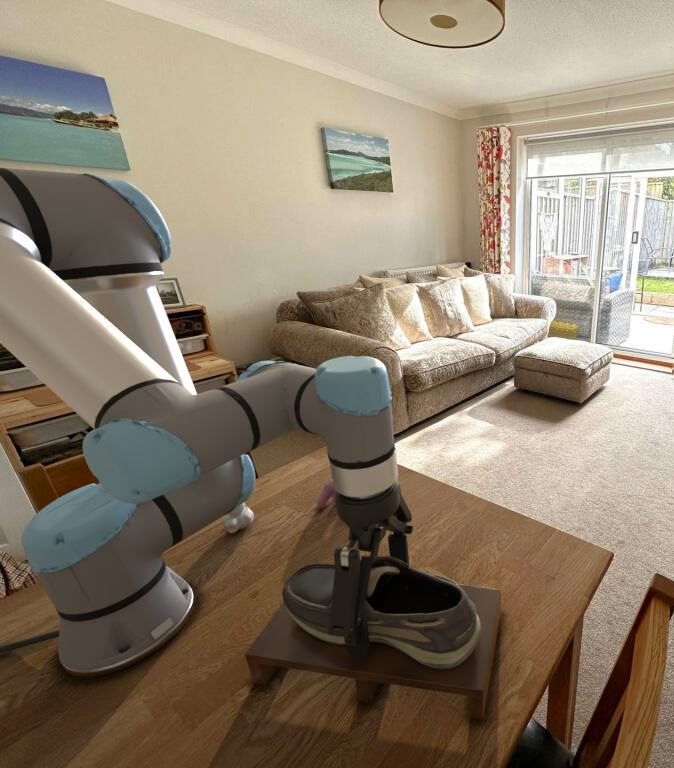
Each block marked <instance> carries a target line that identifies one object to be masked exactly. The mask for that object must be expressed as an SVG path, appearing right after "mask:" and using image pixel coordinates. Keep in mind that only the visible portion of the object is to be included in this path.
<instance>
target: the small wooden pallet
mask: <svg viewBox="0 0 674 768" xmlns="http://www.w3.org/2000/svg"><path fill="white" fill-rule="evenodd" d="M457 584H458V585H459V586H460V587H461V588H462V589H463V590H464V591H465V593H466V594H467V596H468V598H469V599H470V600H471V601H472V602H473V603H474V604H475V606H476V611H477V615H478V617H479V620H480V624H481V633H480V637H479V640H478V642H477V645H476V646H475V648H474V650H473V651H472V653H471V654H470V655H469V656H468V657H467V658H466V660H464V661H463V662H462V663H460V664H459V665H457V666H455V667H452V668H445V669H440V668H433V667H429V666H427V665H424V664H422V663H420V662H418V661H417V660H415V659H413V658H412V657H410V656H409V655H407V654H406V653H404V652H403V651H401V650H399V649H397V648H395V647H393V646H391V645H388V644H385V643H381V642H370V646H371V654H370V656H369V658H367V657H360V656H354V655H348V650H347V644H334V643H330V642H326V641H323V640H321V639H319V638H317V637H315V636H314V635H312V634H310V633H309V632H307V631H306V630H304V629H303V628H302V627H301V626H300V625H299V624H297V623H296V621H295V620H294V619H293V617H292V616H291V615H290V614H289V613H288V611H287V609H286V608H285V605H284V602H283V601H282V603H281V604H280V606H279V608H277V611H276V612H275V613H274V614H273V615H272V617H271V618H270V620H269V621H268V622H267V623H266V625H265V626H264V627H263V629H262V630H261V632H260V633H259V634H258V636H257V637H256V638H255V640H254V641H253V642H252V644H251V645H250V646H249V648H248V649H247V650H246V652H245V653H244V657H245V660H246V663H247V666H248V668H249V672H250V676H251V678H252V681H253V684H255V685H260V686H267V685H268V683H269V682H270V681H271V679H272V677H273V676H274V674H275V673H276V671H277V670H278V668H285V669H292V670H298V671H304V672H311V673H317V674H324V675H330V676H337V677H342V678H343V677H344V678H350V679H354V682H355V688H356V694H357V699H358V701H360V702H365V703H372V702H373V699H374V697H375V694H376V692H377V689H378V687H379V685H380V683H382V684H389V685H394V686H395V685H396V686H400V687H408V688H414V689H420V690H421V689H422V690H427V691H432V692H433V691H434V692H439V693H447V694H452V695H460V696H465V697H468V704H469V705H468V710H469V711H468V712H469V713H468V715H469V719H471V720H477V721H483V720H484V718H485V717H484V716H485V710H486V704H487V698H488V693H489V686H490V680H491V675H492V670H493V669H492V668H493V662H494V658H495V651H496V645H497V638H498V633H499V628H500V627H499V626H500V622H501V621H500V620H501V610H502V609H501V603H502V602H501V601H502V589H501V588H500V589H499V588H491V587H483V586H476V585H468V584H460V583H457Z"/></svg>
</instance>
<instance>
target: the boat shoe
mask: <svg viewBox="0 0 674 768" xmlns="http://www.w3.org/2000/svg"><path fill="white" fill-rule="evenodd" d="M334 574H335V564H332V563H312V564H307V565H304V566H302V567H300V568H298V569H297V570H296V571H295V572H294V573H293V574H291V576H290V577H289V578H287V580H286V581H285V583H284V584H283V588H282V603H283V602H284V605H285V608H286V609H287V611H288V613H289V614H290V615H291V616H292V617H293V619H294V620H295V621H296V623H297V624H299V625H300V626H301V627H302V628H303V629H304V630H306V631H307V632H309V633H310V634H312V635H314V636H315V637H317V638H319V639H321V640H323V641H326V642H330V643H334V644H345V641H344V637H340V636H333V635H328V628H329V619H330V610H331V601H332V592H333V583H334ZM458 584H459V583H458V582H456V581H455V580H453V579H451V578H449V577H446V576H443V575H440V574H430V573H428V572H425V571H422V570H420V569H416V568H414V567H410V565H409V566H408V564H407V563H405V562H403V561H401V560H399V559H396V558H394V557H390V555H378V556H377V561H376V562H375V563H374V564H372V567H371V572H370V577H369V583H368V588H367V593H366V598H365V603H364V608H363V614H362V615H365V616H366V620H367V626H368V633H369V639H370V642H381V643H385V644H388V645H391V646H393V647H395V648H397V649H399V650H401V651H403V652H404V653H406V654H407V655H409V656H410V657H412V658H413V659H415V660H417V661H418V662H420V663H422V664H424V665H427V666H429V667H433V668H440V669H445V668H452V667H455V666H457V665H459V664H460V663H462V662H463V661H464V660H466V658H467V657H468V656H469V655H470V654H471V653H472V651H473V650H474V648H475V646H476V645H477V642H478V640H479V637H480V633H481V624H480V620H479V617H478V615H477V611H476V606H475V604H474V603H473V602H472V601H471V600H470V599H469V598H468V596H467V594H466V593H465V591H464V590H463V589H462V588H461V587H460V586H459V585H458Z"/></svg>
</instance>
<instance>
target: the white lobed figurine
mask: <svg viewBox="0 0 674 768" xmlns="http://www.w3.org/2000/svg"><path fill="white" fill-rule="evenodd" d="M254 519H255V514H254V512H253V511H252V510H251V508H250V507H248V506H246V503H245V502H244V503H242V504H241V505H239V506H238V507H236V508H235V509H234V510H233V511H232V512H231V513H229V514H228V515H225V516H223V517H221V524H222V526H223V527H224V528H226V529H227V531H228V533H229V534H234V533H236V532H237V531H238V530H243V529H245V528H247V527H249V526H251V524H252V523H253V521H254Z"/></svg>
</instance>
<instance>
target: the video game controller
mask: <svg viewBox="0 0 674 768" xmlns="http://www.w3.org/2000/svg"><path fill="white" fill-rule="evenodd" d="M334 490H335V488H334V486H333V480H332V479H330V480H328V481H327V482H326V483H325V484H324V485H323V488H322V490H321V492H320V494H319V496H318V498H317V500H316V507H317V509H320V510H321V509H322V508H324V507H325V506H326V504H327V503H328V502H329V500H330V498H331V499H332V502H333V503H334V504H336V501H335V495H334Z"/></svg>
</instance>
